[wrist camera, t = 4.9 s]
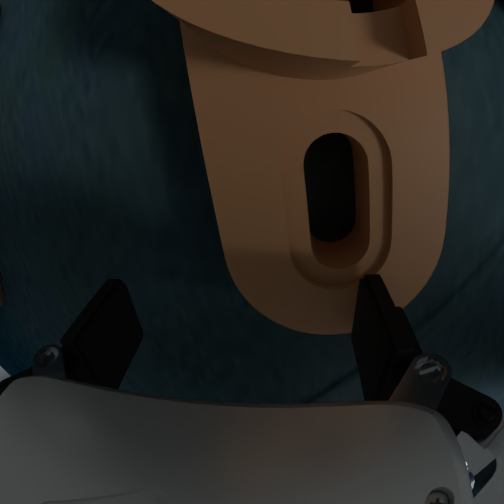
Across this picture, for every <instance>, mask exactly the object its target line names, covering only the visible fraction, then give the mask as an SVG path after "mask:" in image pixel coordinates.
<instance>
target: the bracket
mask: <svg viewBox="0 0 504 504" xmlns="http://www.w3.org/2000/svg"><path fill="white" fill-rule="evenodd" d="M152 1H153V2H154V3H156V4H157V5H159V6H160V7H162V8H163V9H164V10H166V11H167V12H168V13H170V14H171V15H173V16H174V17H175V18H177V19H178V20H179V21H180V28H181V34H182V40H183V46H184V52H185V58H186V64H187V70H188V75H189V81H190V87H191V92H192V98H193V103H194V109H195V114H196V119H197V125H198V130H199V135H200V140H201V146H202V151H203V156H204V161H205V166H206V171H207V176H208V181H209V186H210V190H211V195H212V200H213V205H214V210H215V214H216V219H217V224H218V228H219V233H220V238H221V242H222V247H223V251H224V256H225V260H226V263H227V267H228V270H229V272H230V274H231V277H232V279H233V281H234V283H235V284H236V286H237V288H238V289H239V291H240V292H241V293H242V295H243V296H244V297H245V299H246V300H247V301H248V302H249V303H250V304H251V305H252V306H253V307H254V308H255V309H257V310H258V311H259V312H260V313H262V314H263V315H264V316H266V317H267V318H269V319H271V320H272V321H274V322H276V323H278V324H280V325H282V326H285V327H287V328H290V329H293V330H296V331H301V332H305V333H311V334H322V335H333V334H344V333H350V332H352V327H353V320H354V314H355V307H356V301H357V293H358V286H359V280H360V279H363V278H364V276H365V275H367V274H380V275H381V277H382V279H383V281H384V283H385V285H386V288H387V290H388V292H389V294H390V296H391V298H392V300H393V302H394V304H395V306H396V307H397V306H400V307H401V308H402V309H403V308H404V307H405V306H406V305H407V304H408V303H410V302H411V301H412V300H413V299H414V298H415V297H416V296H417V294H418V293H419V292H420V291H421V290H422V288H423V287H424V286H425V284H426V283H427V281H428V280H429V278H430V277H431V275H432V273H433V271H434V269H435V267H436V265H437V262H438V260H439V257H440V254H441V251H442V247H443V242H444V236H445V228H446V218H447V206H448V191H449V120H448V105H447V94H446V84H445V76H444V69H443V62H442V56H441V51H443V50H447V49H449V48H451V47H453V46H455V45H457V44H459V43H461V42H463V41H464V40H465V39H467V38H468V37H470V36H471V35H473V34H474V33H475V32H476V31H477V30H478V29H479V28H480V27H481V26H482V24H483V23H484V21H485V20H486V18H487V17H488V15H489V13H490V11H491V9H492V6H493V3H494V0H373V12H368V13H352V12H351V8H350V3H349V1H341V0H152ZM328 133H342V134H343V135H344V136H345V137H346V138H347V139H348V141H349V142H350V144H351V147H352V153H353V167H354V184H355V208H356V220H355V225H354V227H353V229H352V231H351V232H350V233H349V234H348V235H347V236H346V237H345V238H343V239H341V240H339V241H335V242H324V241H321V240H318V239H317V238H315V237H314V236H313V235H312V234H311V233H310V229H309V218H308V207H307V197H306V187H305V178H304V169H303V161H304V156H305V153H306V151H307V149H308V147H309V146H310V144H311V143H312V142H313V141H314V140H316V139H317V138H318V137H320V136H322V135H324V134H328Z"/></svg>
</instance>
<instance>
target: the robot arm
mask: <svg viewBox="0 0 504 504" xmlns="http://www.w3.org/2000/svg"><path fill="white" fill-rule="evenodd" d="M351 337H352V343H353V348H354V352H355V356H356V361H357V365H358V370H359V375H360V380H361V384H362V389H363V394H364V399H365V401H351V402H334V403H308V404H249V403H227V402H211V401H199V400H189V399H179V398H171V397H163V396H155V395H149V394H142V393H136V392H130V391H124V390H118V388H119V386H120V384H121V381H122V379H123V377H124V375H125V373H126V371H127V369H128V367H129V365H130V363H131V361H132V359H133V357H134V355H135V353H136V351H137V349H138V347H139V345H140V343H141V341H142V338H143V331H142V328H141V325H140V323H139V320H138V317H137V314H136V312H135V309H134V306H133V303H132V300H131V297H130V295H129V292H128V289H127V286H126V284H125V283H123V281H122V280H120V279H108V280H107V281H106V282H105V283H104V284H103V286H102V287H101V288H100V289H99V291H98V292H97V293H96V294H95V295H94V297H93V298H92V299H91V300H90V302H89V303H88V304H87V306H86V307H85V308H84V309H83V311H82V312H81V313H80V315H79V316H78V317H77V318H76V320H75V321H74V322H73V324H72V325H71V326H70V328H69V329H68V330H67V332H66V333H65V334H64V336H63V337H62V339H61V340H60V341H61V343H62V345H63V346H62V348H60V347H59V346H57V345H47V346H44V347H42V348H41V349H40V350H38V351H37V352H36V354H35V355H34V357H33V360H32V367H31V368H28V369H26V370H24V371H22V372H20V373H17V374H15V375H13V376H11V377H9V378H7V379H4V380H2V381H1V382H0V504H504V420H503V419H502V410H501V407H500V405H499V404H498V403H497V402H496V401H495V400H494V399H492V398H491V397H489V396H487V395H484V394H482V393H480V392H478V391H476V390H474V389H472V388H470V387H468V386H466V385H464V384H462V383H460V382H458V381H456V380H454V379H452V378H450V377H451V368H450V366H449V364H448V362H447V361H446V360H445V359H444V358H442V357H440V356H439V355H436V354H432V353H425V354H423V353H422V350H421V348H420V346H419V343H418V341H417V339H416V337H415V334H414V332H413V330H412V328H411V326H410V324H409V321H408V319H407V317H406V315H405V313H404V311H403V309H402V308H401V307H400V306H397V307H396V306H395V304H394V302H393V300H392V298H391V296H390V294H389V292H388V290H387V288H386V285H385V283H384V281H383V279H382V277H381V275H380V274H367V275H365V276H364V278H363V279H360V280H359V286H358V293H357V301H356V307H355V314H354V320H353V327H352V334H351ZM465 461H466V462H467V463H468V465H467V466H466V463H465ZM467 468H468V469H469V470H470V471H471V472H472V473H473V475H474V479H475V483H474V488H473V489H472V488H471V483H470V479H469V475H468V471H467ZM428 494H429V495H428Z"/></svg>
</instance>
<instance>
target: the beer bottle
mask: <svg viewBox="0 0 504 504" xmlns="http://www.w3.org/2000/svg"><path fill="white" fill-rule="evenodd" d="M3 302H4V295H3V288H2V281H1V274H0V307H1V306H2V305H3Z"/></svg>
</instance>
